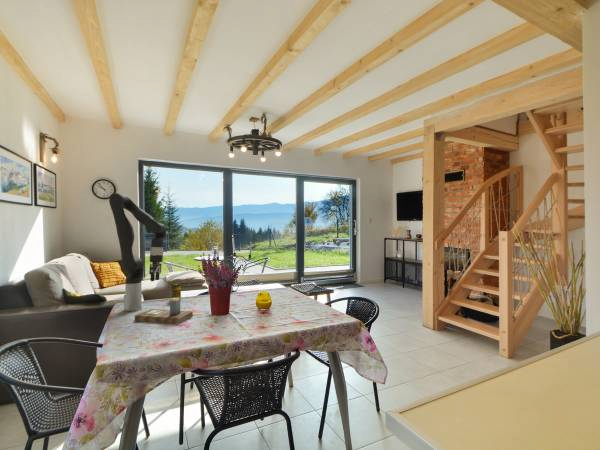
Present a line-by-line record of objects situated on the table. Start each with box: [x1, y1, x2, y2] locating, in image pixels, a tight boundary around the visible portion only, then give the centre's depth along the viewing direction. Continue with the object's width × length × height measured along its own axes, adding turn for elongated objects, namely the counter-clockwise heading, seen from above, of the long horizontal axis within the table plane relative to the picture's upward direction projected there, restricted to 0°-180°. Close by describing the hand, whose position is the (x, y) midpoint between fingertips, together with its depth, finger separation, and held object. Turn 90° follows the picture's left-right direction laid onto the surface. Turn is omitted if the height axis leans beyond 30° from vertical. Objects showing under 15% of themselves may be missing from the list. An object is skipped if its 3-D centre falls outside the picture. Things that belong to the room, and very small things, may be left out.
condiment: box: [167, 283, 183, 304], centre depth 225 cm, size 7×8×12 cm
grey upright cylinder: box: [169, 297, 181, 316], centre depth 184 cm, size 4×4×12 cm
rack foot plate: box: [134, 308, 194, 325], centre depth 185 cm, size 28×14×3 cm, turn 79°
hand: (154, 280), depth 199 cm, fingers open, 8 cm apart
